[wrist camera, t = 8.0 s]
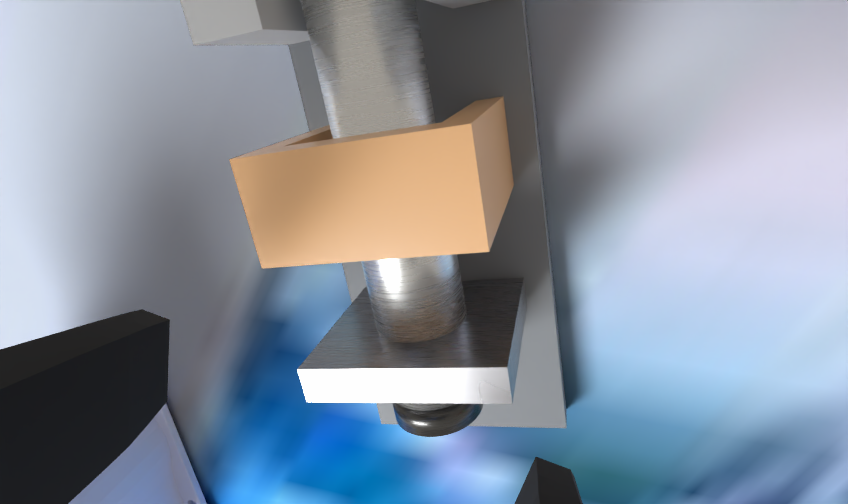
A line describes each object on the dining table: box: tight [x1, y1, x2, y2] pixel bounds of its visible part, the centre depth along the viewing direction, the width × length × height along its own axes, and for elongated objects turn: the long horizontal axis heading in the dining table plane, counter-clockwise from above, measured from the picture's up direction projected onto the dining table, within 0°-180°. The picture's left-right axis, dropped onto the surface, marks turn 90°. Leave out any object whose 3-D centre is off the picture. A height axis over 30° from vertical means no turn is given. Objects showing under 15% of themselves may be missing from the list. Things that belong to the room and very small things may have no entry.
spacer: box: [229, 96, 514, 268], centre depth 13 cm, size 3×5×6 cm, turn 101°
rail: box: [180, 0, 566, 428], centre depth 15 cm, size 18×7×6 cm, turn 11°
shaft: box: [297, 0, 527, 437], centre depth 14 cm, size 12×5×5 cm, turn 11°
